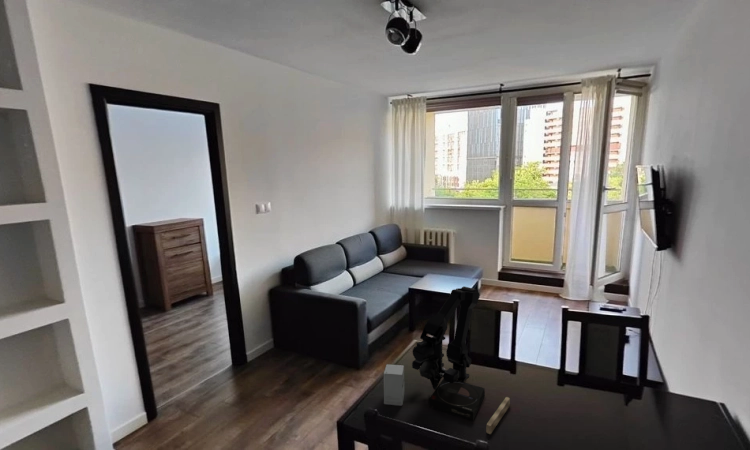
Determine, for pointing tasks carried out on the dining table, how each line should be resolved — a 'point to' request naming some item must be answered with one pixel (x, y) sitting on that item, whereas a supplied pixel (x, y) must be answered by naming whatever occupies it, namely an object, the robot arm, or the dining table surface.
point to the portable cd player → (457, 399)
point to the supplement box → (394, 385)
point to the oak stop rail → (498, 415)
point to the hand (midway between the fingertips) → (434, 389)
